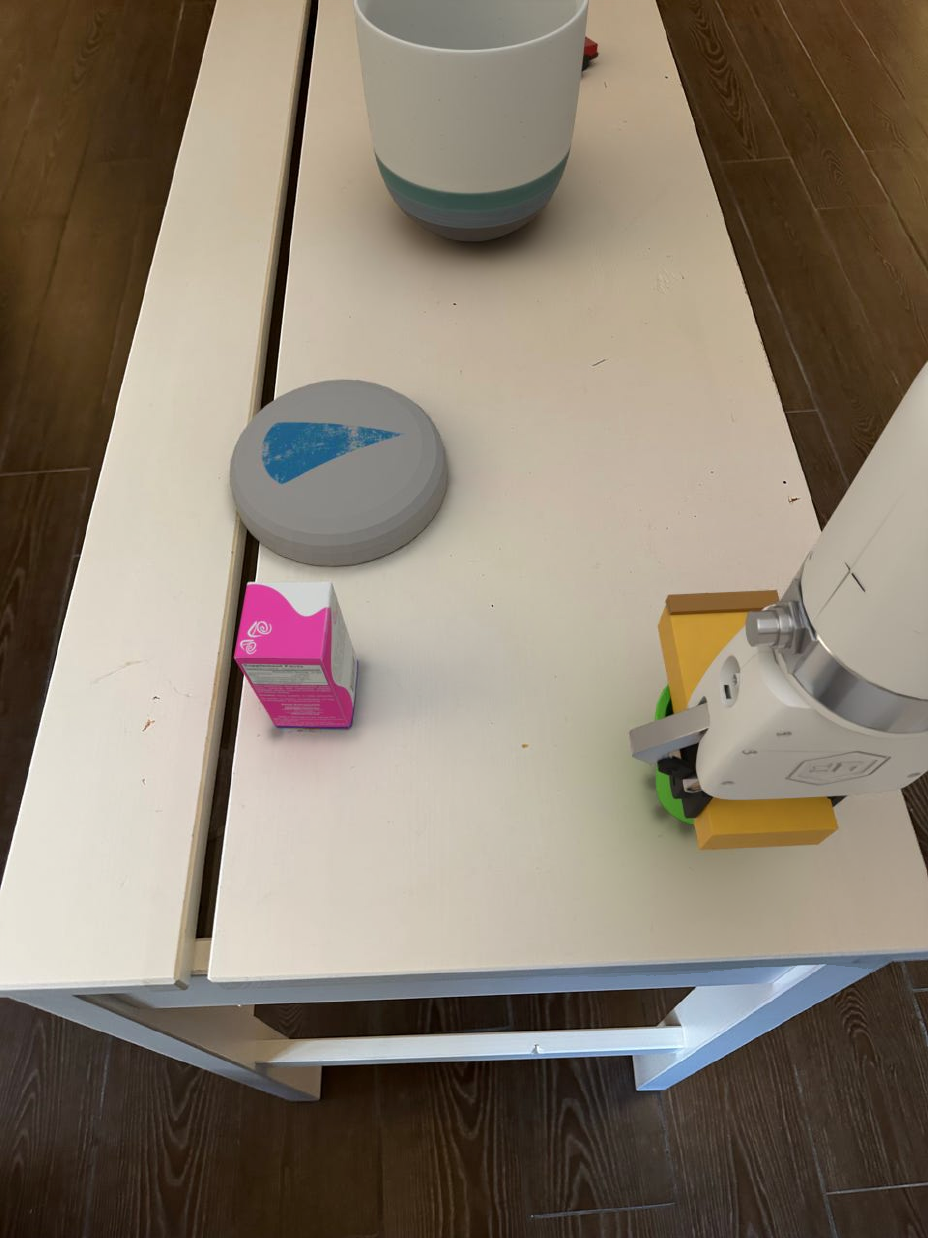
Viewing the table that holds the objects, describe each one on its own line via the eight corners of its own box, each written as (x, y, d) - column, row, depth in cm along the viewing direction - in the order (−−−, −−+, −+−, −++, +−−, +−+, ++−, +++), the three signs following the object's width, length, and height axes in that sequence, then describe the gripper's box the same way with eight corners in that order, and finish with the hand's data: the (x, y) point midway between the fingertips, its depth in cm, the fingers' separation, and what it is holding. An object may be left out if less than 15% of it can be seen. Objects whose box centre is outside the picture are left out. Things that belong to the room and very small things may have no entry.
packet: (818, 845, 45) (842, 826, 43) (698, 850, 45) (714, 832, 42) (760, 618, 53) (777, 589, 50) (656, 623, 53) (667, 594, 50)
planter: (579, 273, 86) (606, 44, 67) (380, 285, 86) (352, 57, 67) (555, 156, 96) (573, -70, 78) (377, 166, 96) (352, -59, 77)
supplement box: (282, 659, 64) (246, 577, 54) (359, 660, 64) (338, 579, 54) (271, 729, 61) (231, 657, 51) (352, 731, 61) (327, 659, 51)
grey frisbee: (465, 547, 69) (464, 509, 65) (240, 584, 68) (223, 548, 63) (429, 387, 78) (426, 345, 74) (229, 416, 77) (214, 375, 72)
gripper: (670, 735, 29) (601, 864, 44) (1167, 713, 29) (926, 849, 45) (637, 554, 33) (585, 732, 48) (1078, 536, 33) (884, 718, 48)
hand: (750, 787), depth 46 cm, fingers closed on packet, 6 cm apart
